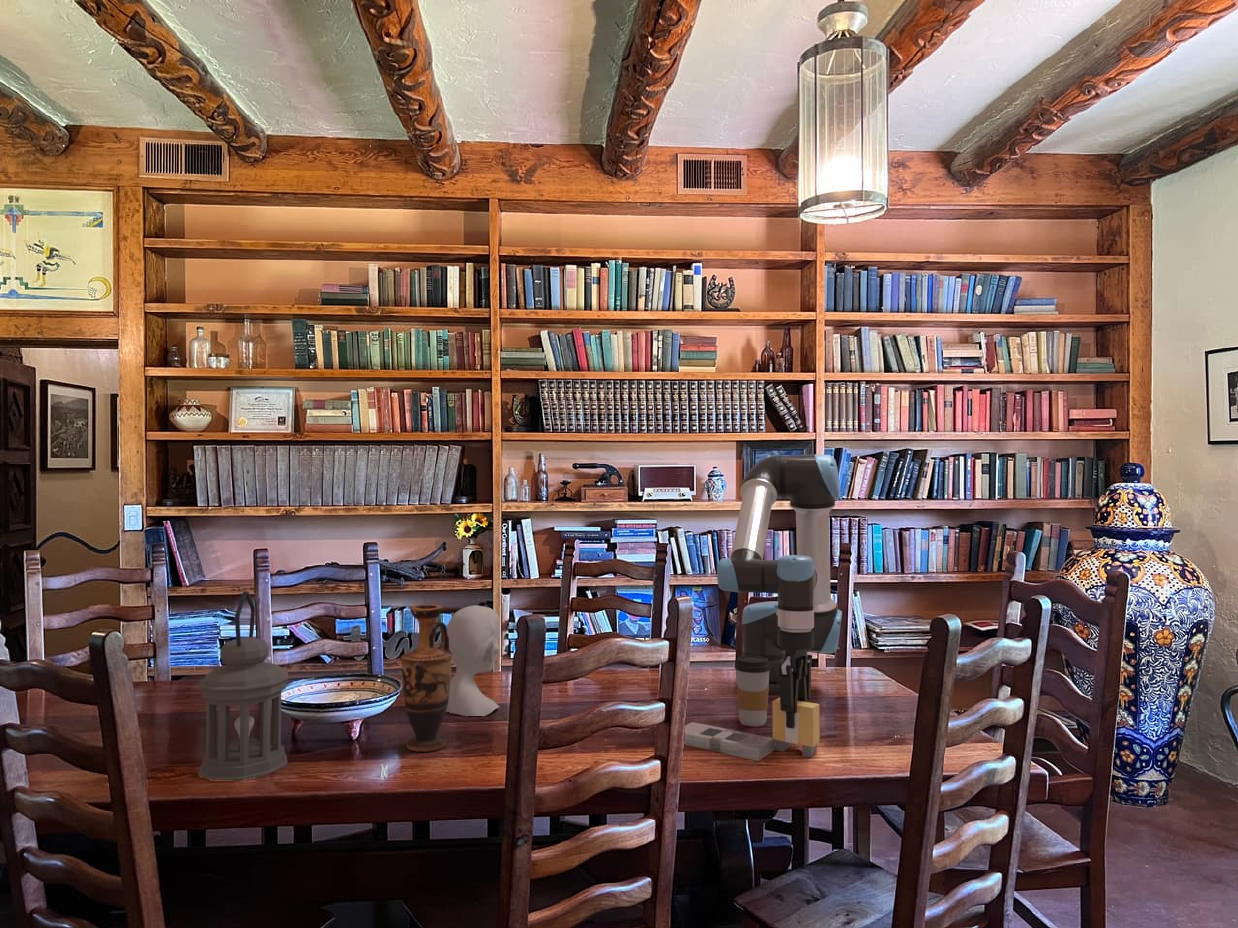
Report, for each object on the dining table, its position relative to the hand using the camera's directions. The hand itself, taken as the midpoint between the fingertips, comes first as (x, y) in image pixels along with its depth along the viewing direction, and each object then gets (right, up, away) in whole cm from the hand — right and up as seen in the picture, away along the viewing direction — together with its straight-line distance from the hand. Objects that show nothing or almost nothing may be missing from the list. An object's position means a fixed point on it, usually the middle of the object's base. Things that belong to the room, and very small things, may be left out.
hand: (795, 739), depth 169 cm
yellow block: (0, -2, 0) cm, 2 cm away
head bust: (-75, -3, +35) cm, 83 cm away
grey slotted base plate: (-15, -2, +3) cm, 15 cm away
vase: (-79, -3, +3) cm, 79 cm away
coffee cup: (-6, -3, +20) cm, 21 cm away
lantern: (-113, -2, -9) cm, 113 cm away
